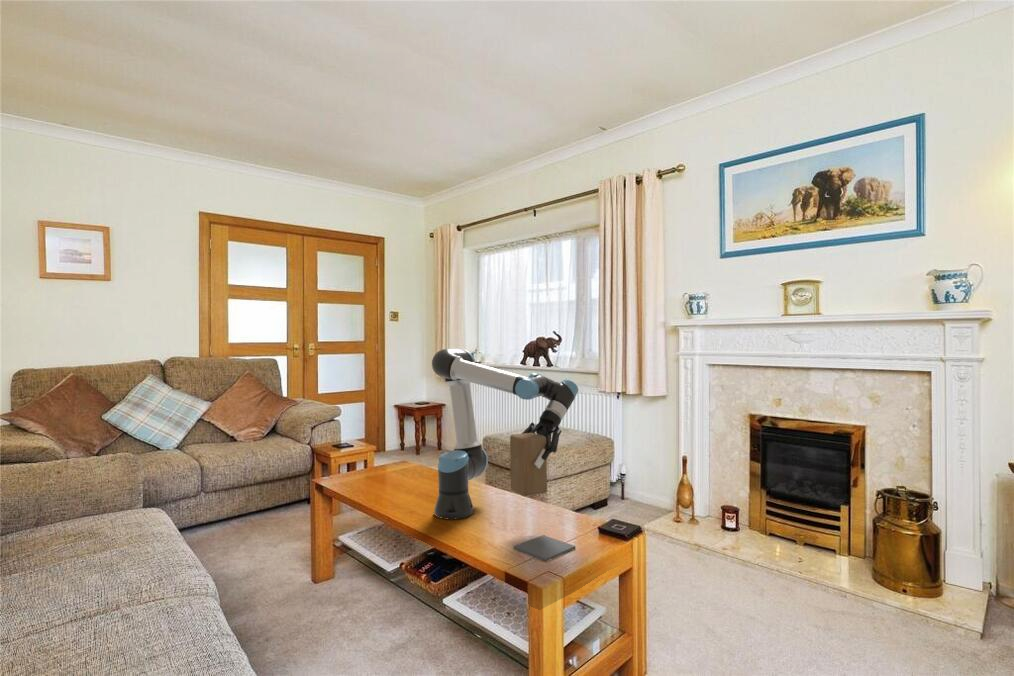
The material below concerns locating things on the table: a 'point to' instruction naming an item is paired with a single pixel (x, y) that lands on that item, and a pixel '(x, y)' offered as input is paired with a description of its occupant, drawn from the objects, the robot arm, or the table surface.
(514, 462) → the wooden block
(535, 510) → the table surface
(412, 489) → the table surface
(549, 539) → the mat
